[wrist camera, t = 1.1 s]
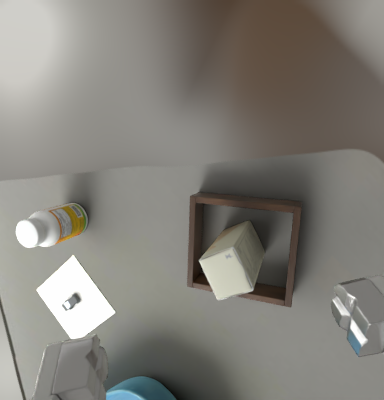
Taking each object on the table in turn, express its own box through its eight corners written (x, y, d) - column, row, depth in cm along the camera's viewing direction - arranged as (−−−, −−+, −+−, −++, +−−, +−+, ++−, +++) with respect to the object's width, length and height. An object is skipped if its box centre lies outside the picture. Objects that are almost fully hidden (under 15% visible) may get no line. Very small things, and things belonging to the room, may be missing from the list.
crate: (302, 201, 39) (301, 206, 36) (292, 294, 41) (291, 307, 38) (198, 192, 43) (189, 195, 40) (195, 276, 46) (186, 286, 42)
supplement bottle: (62, 231, 53) (12, 249, 44) (62, 200, 52) (10, 212, 43) (88, 236, 51) (42, 256, 42) (89, 204, 50) (41, 218, 41)
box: (222, 230, 43) (196, 257, 33) (250, 218, 41) (232, 244, 31) (238, 264, 43) (216, 302, 33) (267, 254, 41) (254, 291, 31)
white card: (115, 312, 52) (110, 317, 50) (74, 343, 56) (68, 348, 55) (73, 255, 53) (67, 258, 51) (36, 290, 57) (29, 293, 56)
